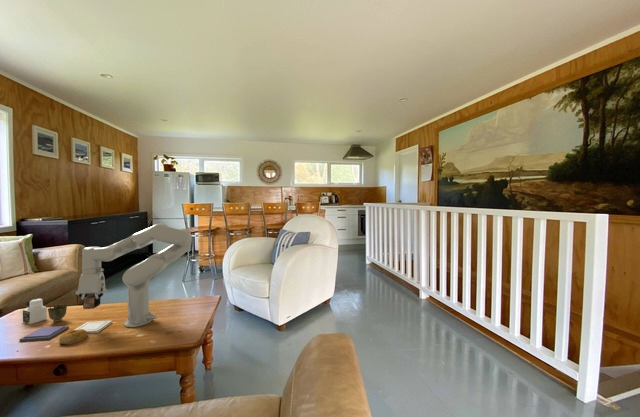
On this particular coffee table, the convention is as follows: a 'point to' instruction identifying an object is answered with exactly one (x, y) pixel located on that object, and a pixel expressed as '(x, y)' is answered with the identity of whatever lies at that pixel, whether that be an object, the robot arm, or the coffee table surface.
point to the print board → (94, 326)
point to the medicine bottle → (34, 311)
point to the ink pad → (44, 333)
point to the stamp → (89, 301)
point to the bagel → (73, 336)
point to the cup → (57, 313)
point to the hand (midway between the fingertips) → (91, 305)
